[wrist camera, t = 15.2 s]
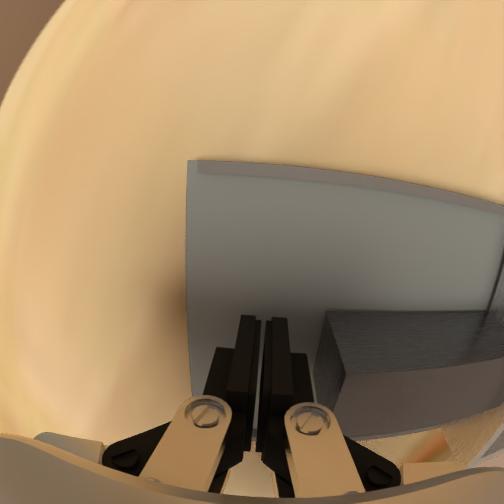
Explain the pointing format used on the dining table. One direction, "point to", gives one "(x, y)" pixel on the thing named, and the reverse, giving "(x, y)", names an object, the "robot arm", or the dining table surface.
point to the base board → (326, 254)
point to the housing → (417, 375)
